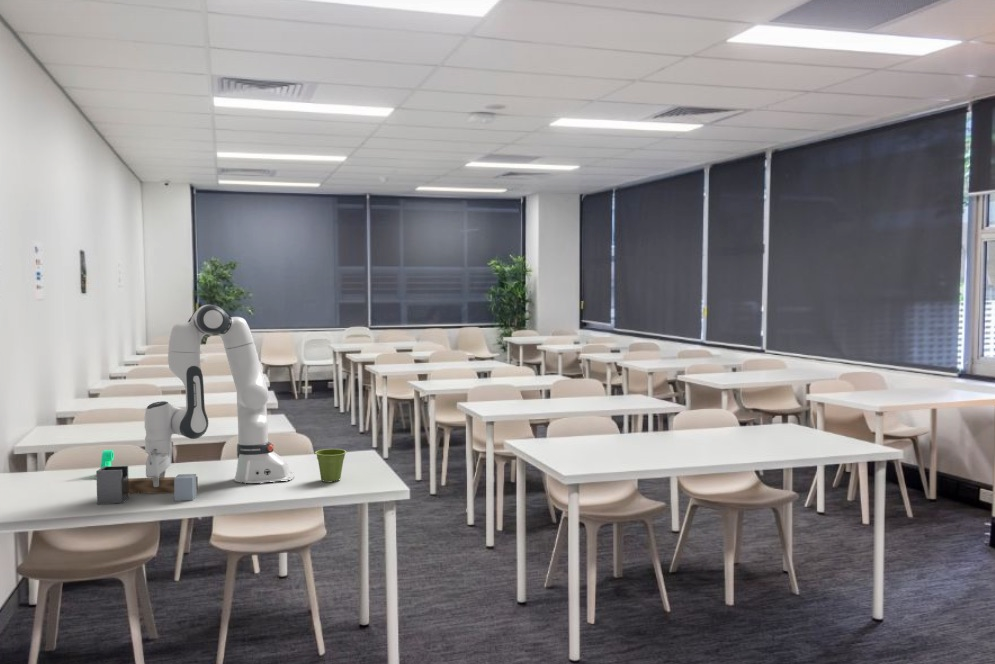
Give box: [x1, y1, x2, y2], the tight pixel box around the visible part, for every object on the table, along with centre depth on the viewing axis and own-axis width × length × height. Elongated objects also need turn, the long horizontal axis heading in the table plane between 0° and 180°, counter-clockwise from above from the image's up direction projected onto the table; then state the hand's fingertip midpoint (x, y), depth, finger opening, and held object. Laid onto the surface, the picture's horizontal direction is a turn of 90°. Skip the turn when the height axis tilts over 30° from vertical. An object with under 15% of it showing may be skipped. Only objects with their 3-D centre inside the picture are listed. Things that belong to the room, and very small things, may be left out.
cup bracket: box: [95, 465, 130, 505], centre depth 270 cm, size 8×8×12 cm
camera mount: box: [99, 449, 115, 469], centre depth 310 cm, size 12×8×10 cm, turn 14°
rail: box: [128, 475, 199, 494], centre depth 284 cm, size 26×4×5 cm, turn 98°
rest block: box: [173, 473, 198, 502], centre depth 274 cm, size 6×6×8 cm
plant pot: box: [314, 448, 347, 482], centre depth 301 cm, size 12×12×11 cm
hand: (159, 484), depth 284 cm, fingers open, 5 cm apart
